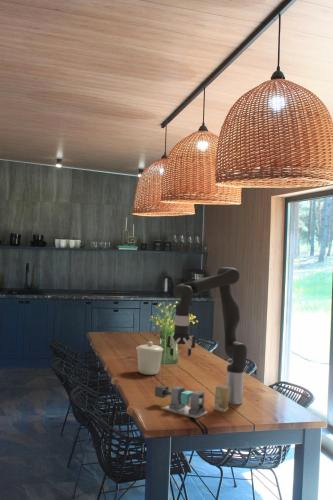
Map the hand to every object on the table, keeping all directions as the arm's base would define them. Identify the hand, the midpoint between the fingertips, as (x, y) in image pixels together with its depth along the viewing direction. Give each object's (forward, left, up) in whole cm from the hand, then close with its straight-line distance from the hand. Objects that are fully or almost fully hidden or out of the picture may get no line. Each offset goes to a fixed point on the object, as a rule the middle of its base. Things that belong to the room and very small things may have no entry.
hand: (180, 355), depth 259 cm
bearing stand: (-4, +2, -28) cm, 29 cm away
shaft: (-4, -2, -24) cm, 24 cm away
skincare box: (-20, +14, -29) cm, 38 cm away
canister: (-54, -61, -29) cm, 86 cm away
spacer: (-4, +3, -24) cm, 24 cm away
